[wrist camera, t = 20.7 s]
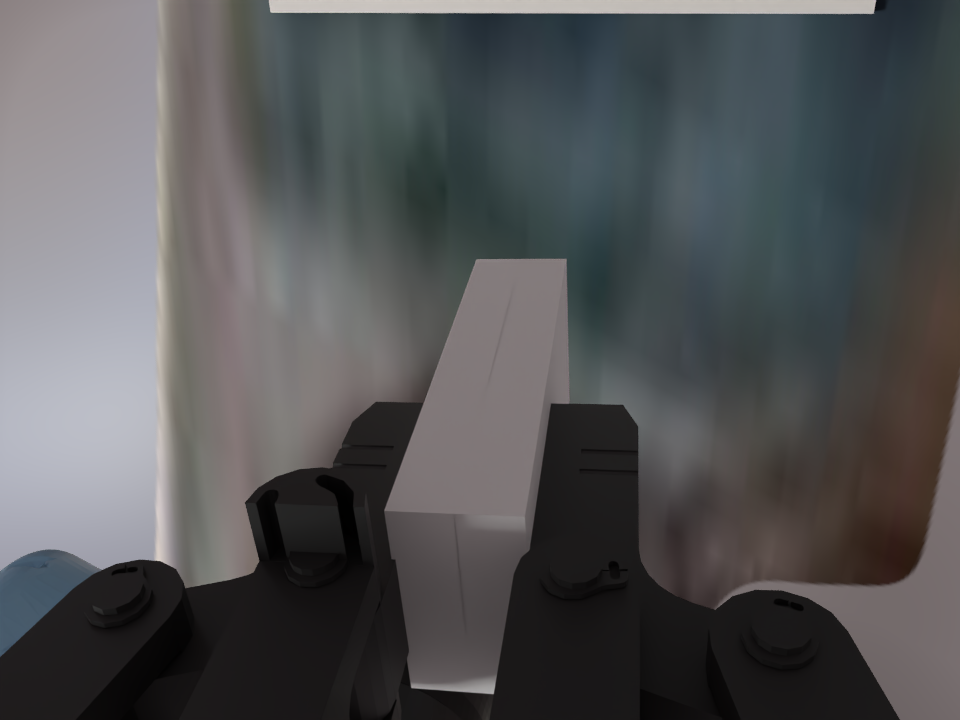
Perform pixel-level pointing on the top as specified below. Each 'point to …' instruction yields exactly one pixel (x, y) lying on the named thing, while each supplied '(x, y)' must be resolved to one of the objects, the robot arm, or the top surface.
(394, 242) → the top surface
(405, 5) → the rubber mat
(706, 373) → the top surface
